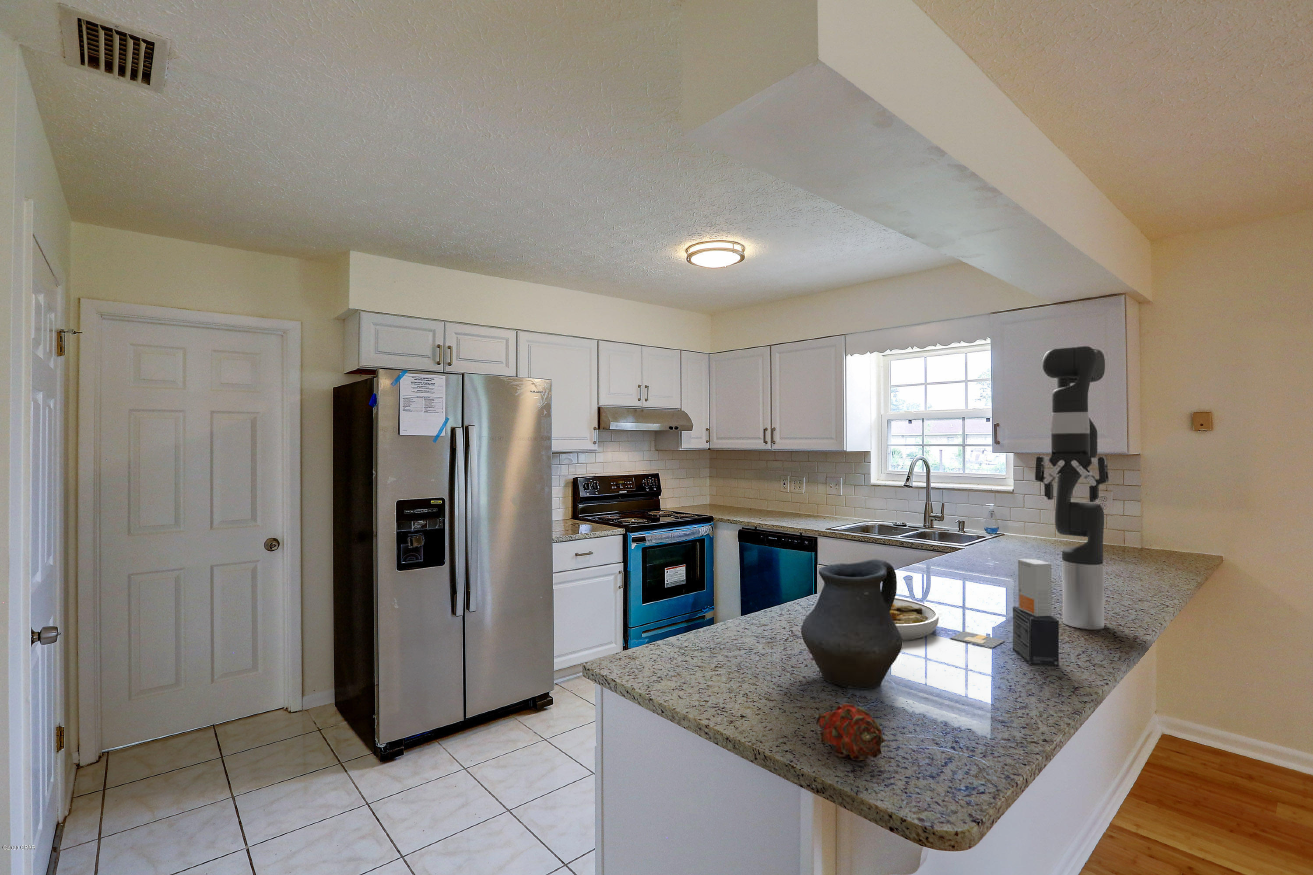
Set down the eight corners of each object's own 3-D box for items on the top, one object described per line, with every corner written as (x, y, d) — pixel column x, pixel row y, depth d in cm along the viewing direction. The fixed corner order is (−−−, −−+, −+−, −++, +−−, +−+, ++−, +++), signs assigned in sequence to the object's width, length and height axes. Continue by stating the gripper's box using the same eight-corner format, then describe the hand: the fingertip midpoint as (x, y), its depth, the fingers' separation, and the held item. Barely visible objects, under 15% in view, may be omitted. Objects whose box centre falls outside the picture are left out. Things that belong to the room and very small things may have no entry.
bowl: (946, 621, 172) (945, 593, 172) (929, 652, 147) (928, 619, 147) (839, 606, 188) (838, 580, 188) (806, 632, 163) (806, 603, 163)
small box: (1061, 667, 136) (1061, 619, 136) (1029, 665, 137) (1028, 618, 137) (1041, 651, 146) (1040, 607, 147) (1011, 649, 148) (1011, 606, 148)
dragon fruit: (884, 783, 93) (820, 763, 103) (904, 735, 98) (841, 720, 108) (858, 746, 91) (796, 729, 101) (880, 699, 96) (818, 687, 105)
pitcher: (782, 671, 135) (781, 558, 135) (859, 656, 143) (858, 550, 144) (845, 708, 116) (844, 576, 116) (930, 689, 125) (929, 566, 125)
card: (963, 632, 161) (963, 630, 161) (1005, 641, 153) (1005, 639, 153) (950, 638, 156) (950, 637, 156) (992, 648, 148) (992, 647, 148)
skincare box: (1017, 609, 145) (1016, 558, 145) (1034, 608, 145) (1034, 558, 145) (1035, 616, 139) (1034, 563, 139) (1053, 616, 139) (1052, 563, 139)
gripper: (1111, 431, 142) (1111, 501, 141) (1041, 432, 152) (1042, 497, 152) (1102, 431, 137) (1102, 504, 137) (1030, 432, 147) (1031, 499, 147)
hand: (1070, 500), depth 144 cm, fingers open, 8 cm apart
